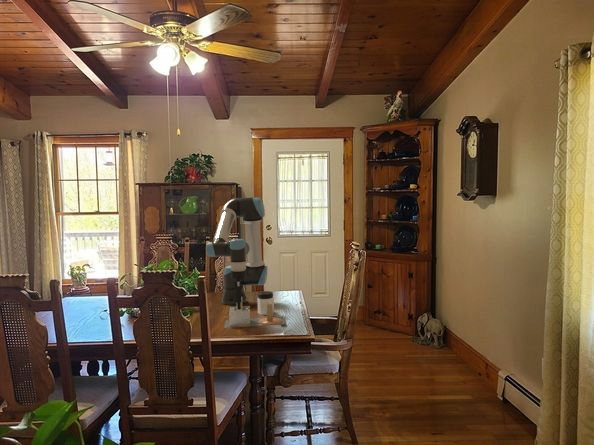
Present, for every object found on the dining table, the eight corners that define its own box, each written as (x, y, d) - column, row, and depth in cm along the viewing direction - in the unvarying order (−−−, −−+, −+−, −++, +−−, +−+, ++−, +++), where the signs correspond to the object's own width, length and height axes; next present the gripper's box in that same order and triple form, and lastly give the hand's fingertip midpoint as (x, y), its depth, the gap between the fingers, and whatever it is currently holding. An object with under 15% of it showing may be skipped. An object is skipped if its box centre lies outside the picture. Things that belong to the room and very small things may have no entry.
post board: (224, 329, 204) (223, 309, 204) (225, 321, 218) (225, 302, 218) (286, 326, 208) (285, 306, 207) (283, 318, 222) (283, 299, 221)
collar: (229, 326, 207) (229, 312, 206) (230, 320, 216) (229, 307, 216) (250, 325, 208) (249, 311, 207) (250, 319, 218) (249, 306, 217)
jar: (276, 315, 229) (275, 293, 228) (262, 317, 225) (261, 295, 225) (269, 311, 237) (269, 290, 236) (256, 313, 233) (255, 292, 233)
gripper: (231, 267, 223) (232, 307, 223) (229, 274, 198) (230, 319, 199) (246, 266, 224) (247, 306, 224) (245, 273, 199) (247, 318, 200)
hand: (239, 312), depth 212 cm, fingers open, 13 cm apart
